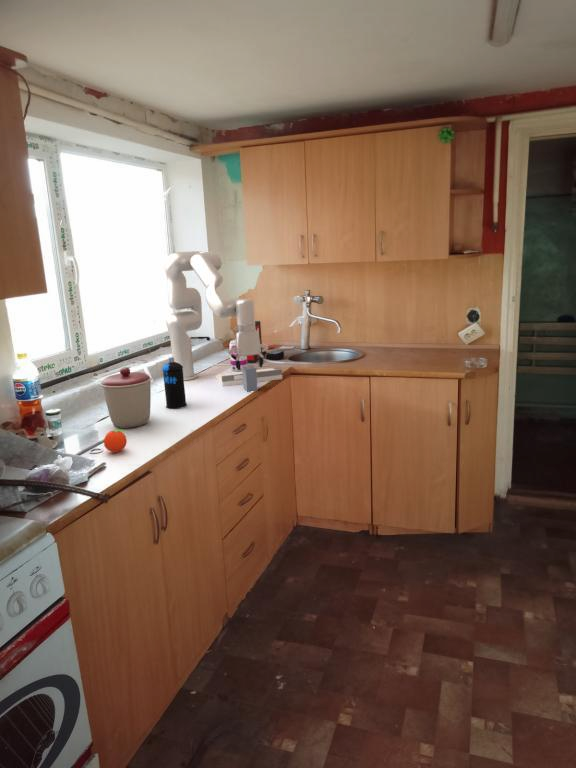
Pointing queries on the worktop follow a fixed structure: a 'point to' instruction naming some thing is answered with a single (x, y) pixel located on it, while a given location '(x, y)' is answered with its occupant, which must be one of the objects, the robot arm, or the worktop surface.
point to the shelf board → (238, 376)
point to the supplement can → (233, 363)
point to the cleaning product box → (256, 357)
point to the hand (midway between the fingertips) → (249, 368)
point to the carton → (249, 378)
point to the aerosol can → (174, 385)
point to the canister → (128, 398)
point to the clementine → (115, 441)
